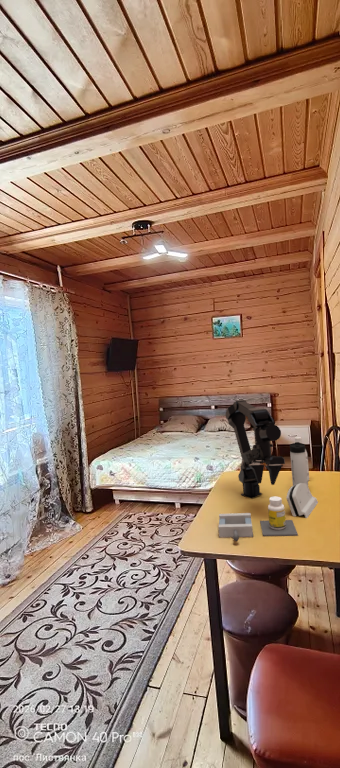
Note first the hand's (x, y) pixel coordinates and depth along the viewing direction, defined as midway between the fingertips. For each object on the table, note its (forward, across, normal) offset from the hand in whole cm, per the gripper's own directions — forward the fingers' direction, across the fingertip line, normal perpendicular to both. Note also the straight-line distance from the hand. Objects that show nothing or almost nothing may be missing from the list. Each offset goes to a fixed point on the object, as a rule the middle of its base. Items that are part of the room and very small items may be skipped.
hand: (266, 484), depth 140 cm
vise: (+15, +7, -17) cm, 24 cm away
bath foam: (+2, -25, +34) cm, 42 cm away
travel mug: (+5, -15, +26) cm, 31 cm away
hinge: (+10, +1, +14) cm, 17 cm away
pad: (+14, +11, -3) cm, 18 cm away
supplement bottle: (+13, +11, -3) cm, 17 cm away
